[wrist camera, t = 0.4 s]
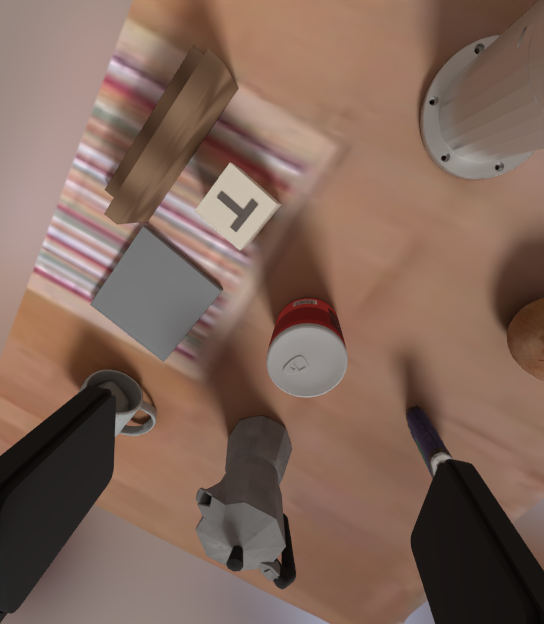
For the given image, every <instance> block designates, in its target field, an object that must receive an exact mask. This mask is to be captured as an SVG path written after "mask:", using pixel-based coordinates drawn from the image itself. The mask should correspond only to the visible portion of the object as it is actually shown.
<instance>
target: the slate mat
mask: <svg viewBox="0 0 544 624" xmlns="http://www.w3.org/2000/svg"><path fill="white" fill-rule="evenodd" d="M222 290H223V289H222V288H221V287H220V286H218V285H217V284H216V283H215V282H214V281H212V280H211V279H210V278H209V277H208V276H206V275H205V274H204V273H203V272H202V271H200V270H199V269H198V268H197V267H196V266H194V265H193V264H192V263H191V262H190V261H188V260H187V259H186V258H185V257H184V256H182V255H181V254H180V253H179V252H178V251H176V250H175V249H174V248H173V247H172V246H170V245H169V244H168V243H167V242H166V241H164V240H163V239H162V238H161V237H160V236H158V235H157V234H156V233H155V232H154V231H152V230H151V229H150V228H149V227H148V226H143V227H142V229H141V230H140V232H139V233H138V235H137V236H136V238H135V239H134V241H133V242H132V243H131V245H130V246H129V248H128V249H127V251H126V252H125V254H124V255H123V257H122V258H121V260H120V261H119V263H118V264H117V266H116V267H115V268H114V270H113V271H112V273H111V274H110V276H109V277H108V279H107V280H106V282H105V283H104V285H103V286H102V288H101V289H100V291H99V292H98V293H97V295H96V296H95V298H94V299H93V301H92V302H91V304H90V305H91V306H93V307H94V308H95V309H97V310H98V311H99V312H100V313H102V314H103V315H104V316H105V317H107V318H108V319H109V320H111V321H112V322H113V323H114V324H116V325H117V326H118V327H120V328H121V329H122V330H123V331H125V332H126V333H127V334H128V335H130V336H131V337H132V338H134V339H135V340H136V341H137V342H139V343H140V344H141V345H143V346H144V347H145V348H146V349H148V350H149V351H150V352H151V353H153V354H154V355H155V356H157V357H158V358H159V359H160V360H162V361H163V362H164V361H165V360H166V358H167V357H168V356H169V355H170V354H171V352H172V351H173V350H174V349H175V347H176V346H177V345H178V344H179V343H180V341H181V340H182V339H183V338H184V337H185V335H186V334H187V333H188V332H189V330H190V329H191V328H192V327H193V326H194V324H195V323H196V322H197V321H198V320H199V318H200V317H201V316H202V315H203V313H204V312H205V311H206V310H207V309H208V307H209V306H210V305H211V304H212V303H213V301H214V300H215V299H216V298H217V296H218V295H219V294H220V293H221V292H222Z"/></svg>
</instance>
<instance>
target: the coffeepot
mask: <svg viewBox="0 0 544 624" xmlns="http://www.w3.org/2000/svg"><path fill="white" fill-rule="evenodd" d="M291 451H292V447H291V444H290V440H289V436H288V434H287V431H286V428H285V427H284V426H282V425H281V424H279V423H278V422H276V421H275V420H272V419H270V418H267V417H265V416H255V417H249V418H246V419H244V420H239V422H238V423H237V425H236V426H235V428H234V430H233V431H232V433H231V435H230V436H229V438H228V446H227V457H226V467H225V470H226V474H225V475H224V477H223V479H222V480H221V482H219V483H218V484H216V485H214V486H213V487H210V488H208V489H204V488H200V489H199V490H198V492H197V496H196V500H197V502H198V507H199V509H200V511H201V513H202V515H203V516H202V518H201V520H200V522H199V524H198V525H197V527H196V532H197V534H198V536H199V539H200V541H201V543H202V546H203V548H204V550H205V553H206V555H207V556H208V557H210V558H212V559H214V560H216V561H218V562H220V563H222V564H224V565H226V566H227V567H228V569H230V570H232V571H240V570H250V569H259V568H260V572H261V573H262V574H263V575H264V576H265V577H266V578H267V579H268V580H271V579H272V580H273V582H274V583H275V585H276V586H277V587H278V588H280V589H285V588H286V587H287V586H289V585H290V584H291V583H292V582H293V581H294V580H295V578H296V570H295V563H294V557H293V550H292V543H291V536H290V530H289V523H288V518H287V516H286V515H285V514H284V513H283V507H282V494H281V491H280V487H279V484H280V482H281V480H282V478H283V475H284V472H285V469H286V466H287V463H288V460H289V457H290V454H291ZM281 552H282V559H281V561H282V565H281V563H280V562H279V561H278V559H277V557H278V556H279V554H280V553H281Z"/></svg>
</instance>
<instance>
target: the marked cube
mask: <svg viewBox="0 0 544 624" xmlns="http://www.w3.org/2000/svg"><path fill="white" fill-rule="evenodd" d="M280 206H281V204H280V203H279V202H278V201H277V200H276V199H275V198H273V197H272V196H271V195H270V194H269V193H268V192H267V191H266V190H265V189H263V188H262V187H261V186H260V185H259V184H258V183H257V182H256V181H254V180H253V179H252V178H251V177H250V176H249V175H248V174H247V173H245V172H244V171H243V170H242V169H241V168H239V167H237V166H236V165H234V164H232V163H229V164H228V166H227V167H226V169H225V170H224V171H223V173H222V174H221V175H220V177H219V178H218V180H217V181H216V182H215V184H214V185H213V186H212V188H211V189H210V191H209V192H208V193H207V195H206V196H205V198H204V199H203V200H202V202H201V203H200V204H199V206H198V207H197V209H196V210H195V211H194V212H195V213H197V214H198V215H199V216H200V217H201V218H202V219H204V220H205V221H206V222H207V223H208V224H209V225H211V226H212V227H213V228H214V229H215V230H216V231H218V232H219V233H220V234H221V235H222V236H223V237H225V238H226V239H227V240H228V241H229V242H230V243H232V244H233V245H234V246H235V247H236V248H237V249H239V250H241V249H243V248H245V247H246V246H248V245H249V244H250V243H251V242H252V241H253V239H254V238H255V237H256V236H257V235H258V233H259V232H260V231H261V230H262V228H263V227H264V226H265V225H266V223H267V222H268V221H269V220H270V218H271V217H272V216H273V215H274V214H275V212H276V211H277V210H278V209H279V207H280Z"/></svg>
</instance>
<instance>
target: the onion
mask: <svg viewBox="0 0 544 624" xmlns="http://www.w3.org/2000/svg"><path fill="white" fill-rule="evenodd" d="M507 343H508V347H509V350H510V353H511V355H512V357H513V358H514V359H515V361H516V362H517V363H518V364H519V365H520V366H521V367H522V368H523V369H524V370H525V371H527V372H528V373H529V374H531V375H533V376H534V377H536V378H537V379H540V380H543V381H544V298H542V299H538V300H536V301H533V302H531V303H529V304H527V305H526V306H524V307H523V308H522V309H521V310H520V311H519V312H518V313H517V314H516V315H515V316H514V318H513V319H512V321H511V323H510V324H509V327H508V331H507Z"/></svg>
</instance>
